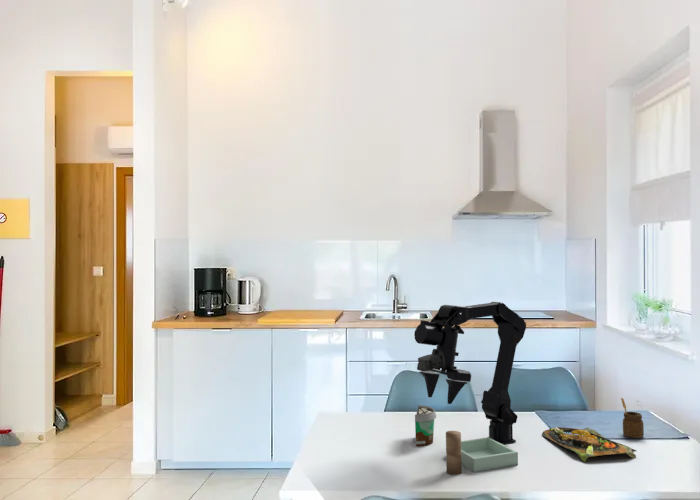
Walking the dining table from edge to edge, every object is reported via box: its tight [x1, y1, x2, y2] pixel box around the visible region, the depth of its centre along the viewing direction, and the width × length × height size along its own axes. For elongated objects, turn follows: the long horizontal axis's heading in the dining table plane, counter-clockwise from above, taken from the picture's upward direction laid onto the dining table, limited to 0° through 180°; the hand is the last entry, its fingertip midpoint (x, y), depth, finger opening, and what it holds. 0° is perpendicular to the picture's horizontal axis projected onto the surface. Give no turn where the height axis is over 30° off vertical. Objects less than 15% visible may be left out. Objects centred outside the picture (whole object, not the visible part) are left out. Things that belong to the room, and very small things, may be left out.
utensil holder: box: [620, 397, 645, 439], centre depth 176 cm, size 6×6×12 cm
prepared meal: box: [541, 427, 637, 463], centre depth 168 cm, size 28×4×18 cm
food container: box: [414, 404, 437, 448], centre depth 174 cm, size 12×6×10 cm, turn 168°
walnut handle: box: [445, 430, 463, 476], centre depth 148 cm, size 4×4×10 cm
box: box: [461, 436, 519, 473], centre depth 157 cm, size 14×14×4 cm
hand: (439, 400), depth 162 cm, fingers open, 9 cm apart
